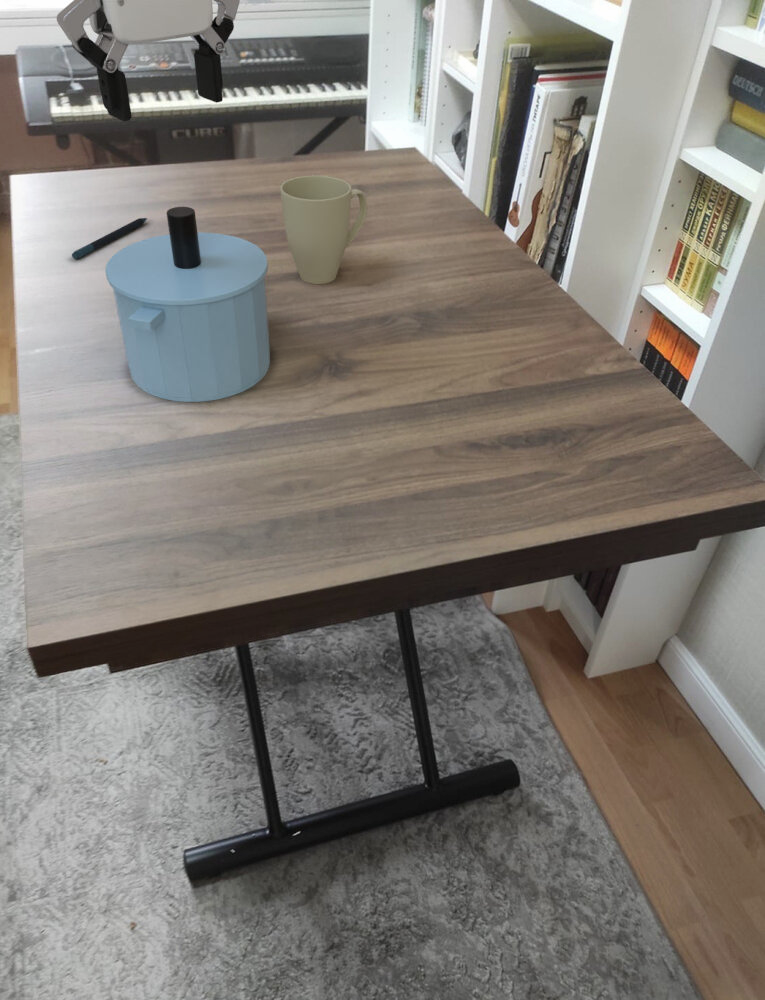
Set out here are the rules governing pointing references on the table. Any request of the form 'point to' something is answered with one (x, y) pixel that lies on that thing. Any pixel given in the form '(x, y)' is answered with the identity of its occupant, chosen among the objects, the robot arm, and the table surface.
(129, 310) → the pot
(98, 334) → the table surface
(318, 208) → the mug
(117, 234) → the pen
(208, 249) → the lid
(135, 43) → the robot arm
